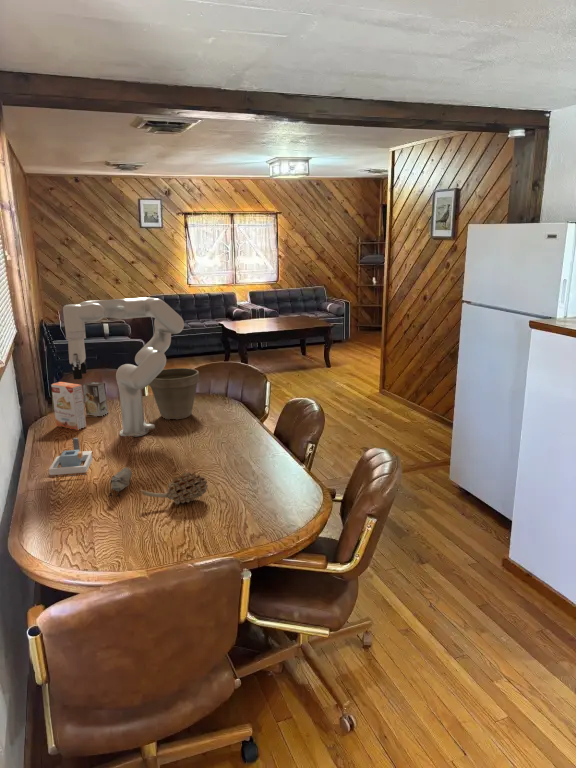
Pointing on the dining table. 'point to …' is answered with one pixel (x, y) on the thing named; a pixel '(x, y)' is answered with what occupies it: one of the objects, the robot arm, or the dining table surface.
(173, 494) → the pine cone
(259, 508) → the dining table surface
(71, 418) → the cracker box
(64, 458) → the collar
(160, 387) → the plant pot
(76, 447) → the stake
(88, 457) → the tray
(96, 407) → the coffee box
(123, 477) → the decorative bird
